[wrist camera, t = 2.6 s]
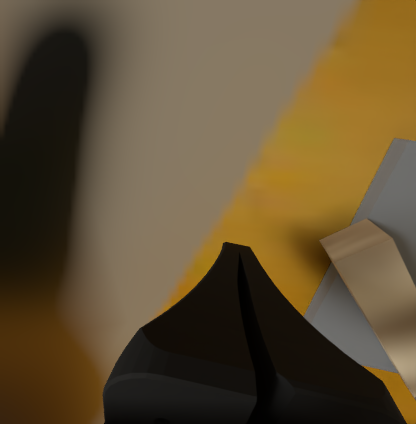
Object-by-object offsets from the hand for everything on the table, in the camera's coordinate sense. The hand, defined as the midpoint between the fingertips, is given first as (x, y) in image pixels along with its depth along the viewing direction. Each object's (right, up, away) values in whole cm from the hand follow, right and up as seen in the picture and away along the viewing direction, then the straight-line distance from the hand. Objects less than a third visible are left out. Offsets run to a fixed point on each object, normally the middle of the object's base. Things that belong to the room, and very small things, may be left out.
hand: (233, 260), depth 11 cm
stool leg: (+12, -5, +5) cm, 14 cm away
